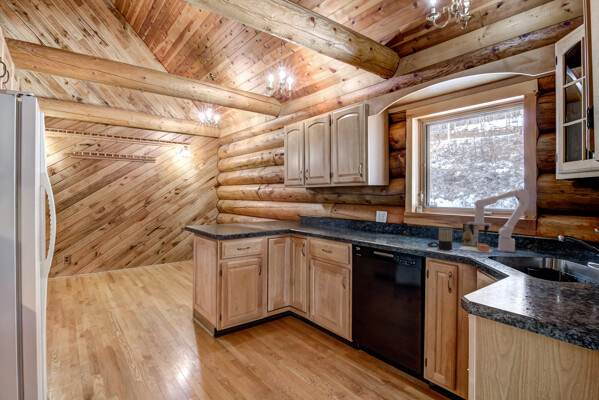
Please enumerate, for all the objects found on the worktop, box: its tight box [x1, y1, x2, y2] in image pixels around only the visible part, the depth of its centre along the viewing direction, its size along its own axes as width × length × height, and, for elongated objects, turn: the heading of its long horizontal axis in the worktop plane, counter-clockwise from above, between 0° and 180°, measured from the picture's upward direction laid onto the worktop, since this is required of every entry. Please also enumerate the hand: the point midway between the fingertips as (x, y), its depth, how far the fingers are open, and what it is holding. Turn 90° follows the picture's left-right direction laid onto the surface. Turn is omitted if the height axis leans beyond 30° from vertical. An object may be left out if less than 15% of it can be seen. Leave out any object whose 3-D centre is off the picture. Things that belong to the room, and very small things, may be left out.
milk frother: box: [427, 227, 454, 251], centre depth 215 cm, size 14×16×15 cm
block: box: [476, 242, 490, 253], centre depth 207 cm, size 9×5×4 cm, turn 163°
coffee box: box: [461, 223, 480, 247], centre depth 232 cm, size 9×6×16 cm
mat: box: [458, 246, 494, 254], centre depth 211 cm, size 19×15×1 cm
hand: (478, 235), depth 218 cm, fingers open, 7 cm apart
